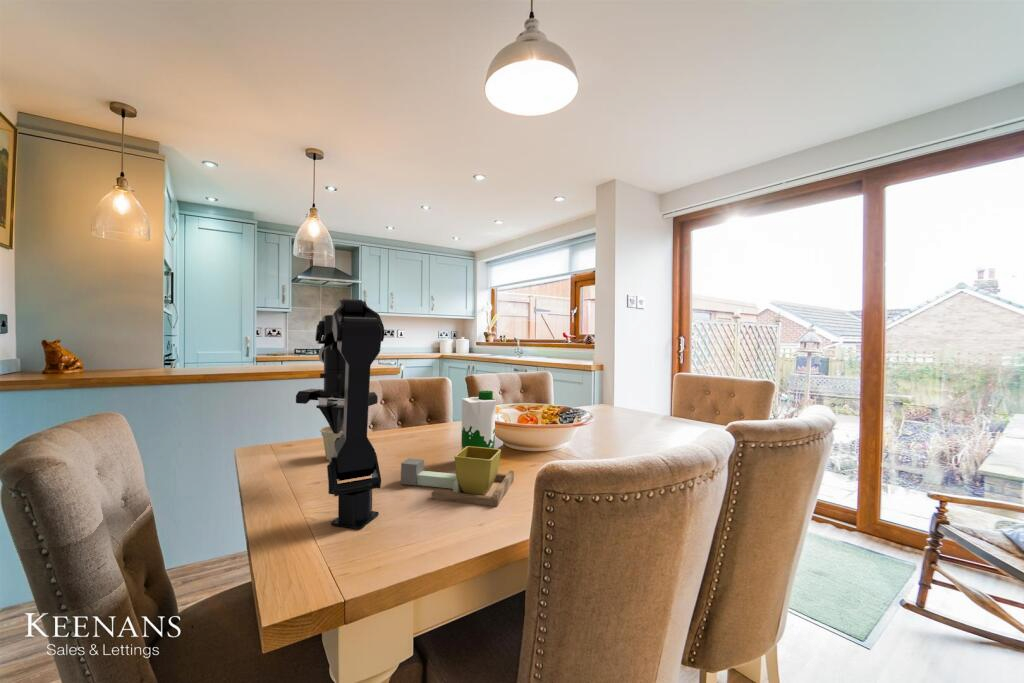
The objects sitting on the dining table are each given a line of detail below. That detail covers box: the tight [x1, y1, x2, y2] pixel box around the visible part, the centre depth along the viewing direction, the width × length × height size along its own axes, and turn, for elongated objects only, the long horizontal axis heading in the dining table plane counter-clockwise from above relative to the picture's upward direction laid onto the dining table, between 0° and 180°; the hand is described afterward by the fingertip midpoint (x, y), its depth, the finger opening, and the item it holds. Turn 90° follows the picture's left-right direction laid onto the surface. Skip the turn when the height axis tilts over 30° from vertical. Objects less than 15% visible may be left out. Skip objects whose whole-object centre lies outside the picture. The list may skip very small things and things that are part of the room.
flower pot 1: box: [319, 425, 343, 462], centre depth 118 cm, size 9×9×9 cm
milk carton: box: [461, 390, 498, 450], centre depth 116 cm, size 9×9×20 cm
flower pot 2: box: [454, 446, 502, 496], centre depth 95 cm, size 9×9×9 cm
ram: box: [400, 457, 463, 493], centre depth 98 cm, size 8×15×5 cm, turn 77°
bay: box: [431, 470, 515, 507], centre depth 96 cm, size 15×15×2 cm
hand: (336, 433), depth 99 cm, fingers closed
